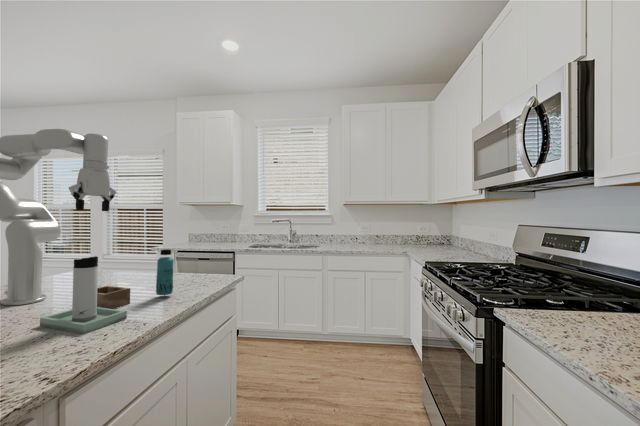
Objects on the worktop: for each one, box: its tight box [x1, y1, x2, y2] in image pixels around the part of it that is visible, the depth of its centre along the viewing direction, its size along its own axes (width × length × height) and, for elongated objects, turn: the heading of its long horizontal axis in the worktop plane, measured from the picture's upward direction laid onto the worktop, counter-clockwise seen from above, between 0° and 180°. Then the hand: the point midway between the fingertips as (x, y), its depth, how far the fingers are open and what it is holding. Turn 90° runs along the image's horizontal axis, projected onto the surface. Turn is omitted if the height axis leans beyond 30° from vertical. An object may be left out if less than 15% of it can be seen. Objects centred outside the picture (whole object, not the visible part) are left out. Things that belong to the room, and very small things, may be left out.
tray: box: [39, 307, 128, 335], centre depth 98 cm, size 18×14×2 cm
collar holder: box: [97, 285, 131, 309], centre depth 115 cm, size 11×10×6 cm
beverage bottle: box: [155, 248, 175, 296], centre depth 130 cm, size 6×7×20 cm
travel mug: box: [71, 255, 99, 322], centre depth 98 cm, size 6×7×20 cm
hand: (93, 210), depth 119 cm, fingers open, 9 cm apart
